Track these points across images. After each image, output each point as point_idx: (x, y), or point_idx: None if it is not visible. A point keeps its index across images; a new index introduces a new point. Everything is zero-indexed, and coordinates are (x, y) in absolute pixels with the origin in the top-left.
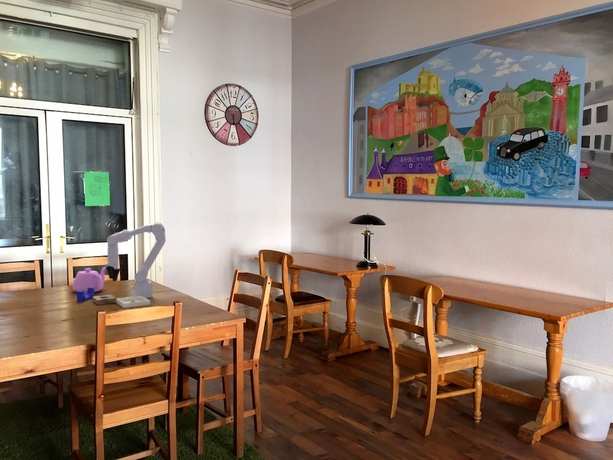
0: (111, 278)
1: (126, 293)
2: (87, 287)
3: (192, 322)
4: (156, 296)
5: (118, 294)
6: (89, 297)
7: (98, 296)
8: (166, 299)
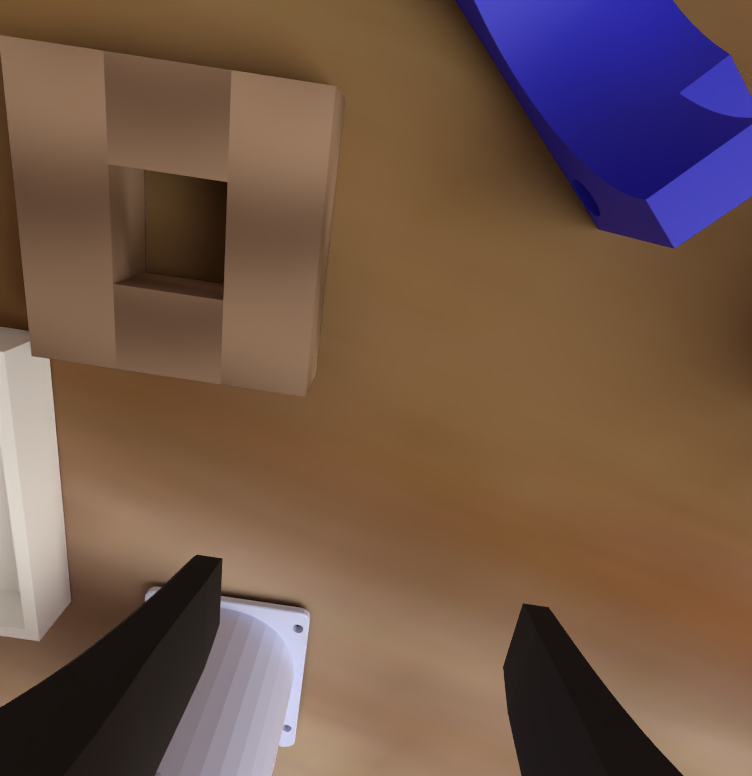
0: (515, 639)
1: None
2: None
3: None
4: None
5: (541, 548)
6: (533, 111)
7: (286, 181)
8: None
